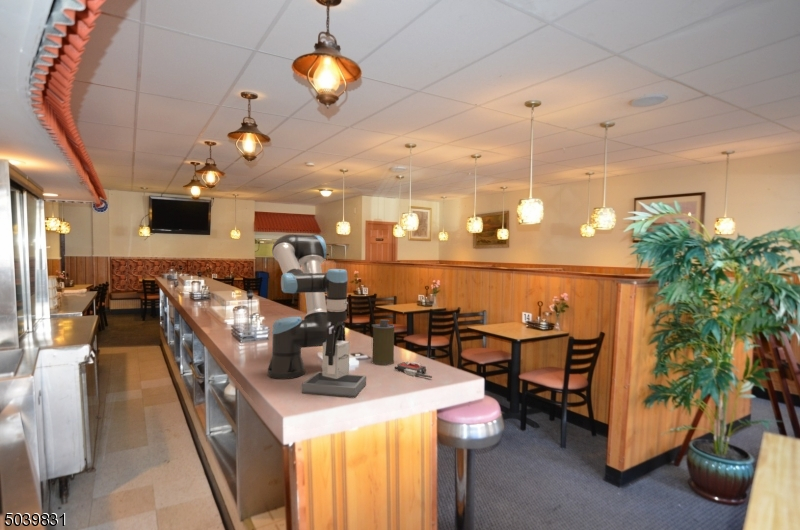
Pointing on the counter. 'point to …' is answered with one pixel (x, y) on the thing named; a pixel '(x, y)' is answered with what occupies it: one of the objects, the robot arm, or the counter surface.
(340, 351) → the supplement box
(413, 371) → the red grey elongated piece
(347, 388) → the grey tray
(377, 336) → the canister
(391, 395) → the counter surface
